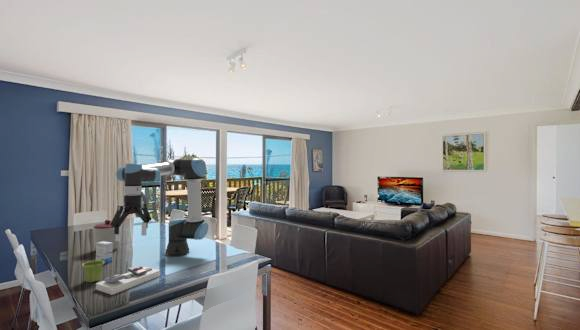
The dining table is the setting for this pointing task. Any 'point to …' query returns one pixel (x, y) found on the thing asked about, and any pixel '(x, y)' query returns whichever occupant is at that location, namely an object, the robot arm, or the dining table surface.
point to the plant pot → (92, 270)
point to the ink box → (104, 251)
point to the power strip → (127, 281)
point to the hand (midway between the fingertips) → (131, 238)
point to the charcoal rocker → (137, 270)
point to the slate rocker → (114, 278)
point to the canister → (105, 233)
